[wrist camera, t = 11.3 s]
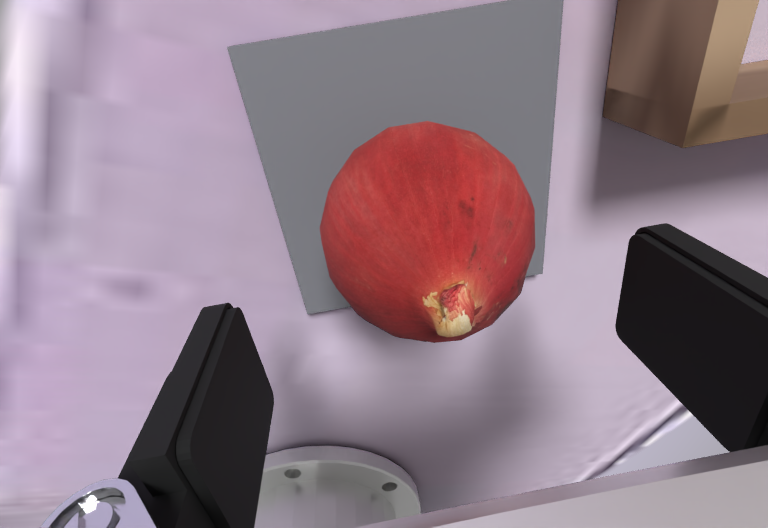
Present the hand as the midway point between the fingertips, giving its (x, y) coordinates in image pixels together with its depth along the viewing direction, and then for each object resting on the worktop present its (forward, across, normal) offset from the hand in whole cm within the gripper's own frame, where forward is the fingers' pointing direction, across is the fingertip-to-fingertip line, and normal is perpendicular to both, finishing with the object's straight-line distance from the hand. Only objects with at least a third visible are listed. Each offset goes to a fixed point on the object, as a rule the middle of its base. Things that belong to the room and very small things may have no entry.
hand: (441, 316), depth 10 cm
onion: (+6, 0, -1) cm, 7 cm away
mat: (+7, -1, -1) cm, 7 cm away
